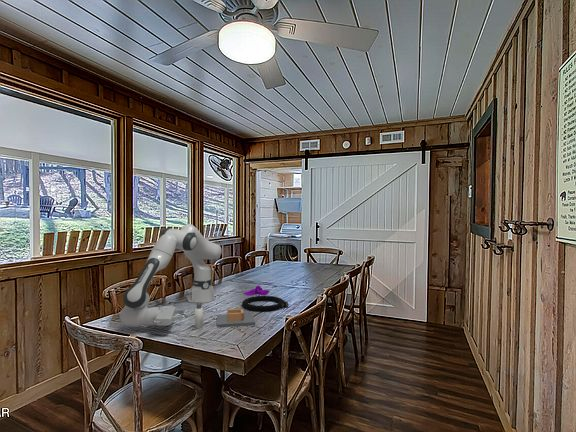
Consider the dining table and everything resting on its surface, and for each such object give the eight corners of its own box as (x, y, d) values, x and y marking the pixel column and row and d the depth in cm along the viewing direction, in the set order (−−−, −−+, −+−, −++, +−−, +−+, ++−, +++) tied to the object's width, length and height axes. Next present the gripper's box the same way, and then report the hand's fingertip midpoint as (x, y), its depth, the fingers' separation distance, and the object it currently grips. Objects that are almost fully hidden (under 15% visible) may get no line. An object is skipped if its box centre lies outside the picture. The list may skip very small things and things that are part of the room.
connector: (193, 326, 171) (194, 302, 171) (201, 325, 174) (201, 301, 174) (196, 329, 168) (196, 304, 168) (204, 327, 170) (204, 302, 170)
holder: (217, 327, 171) (217, 317, 171) (216, 317, 186) (216, 308, 186) (255, 324, 175) (255, 314, 175) (251, 315, 191) (251, 306, 191)
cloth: (240, 296, 236) (240, 287, 236) (249, 290, 254) (249, 282, 254) (270, 298, 231) (270, 289, 231) (276, 291, 249) (276, 283, 249)
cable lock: (249, 293, 227) (292, 296, 221) (249, 299, 227) (292, 302, 221) (235, 304, 200) (283, 308, 194) (235, 311, 200) (283, 314, 194)
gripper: (150, 316, 156) (181, 315, 159) (158, 304, 176) (184, 303, 179) (150, 329, 156) (181, 327, 159) (158, 316, 176) (184, 314, 179)
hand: (183, 314), depth 169 cm, fingers open, 8 cm apart
